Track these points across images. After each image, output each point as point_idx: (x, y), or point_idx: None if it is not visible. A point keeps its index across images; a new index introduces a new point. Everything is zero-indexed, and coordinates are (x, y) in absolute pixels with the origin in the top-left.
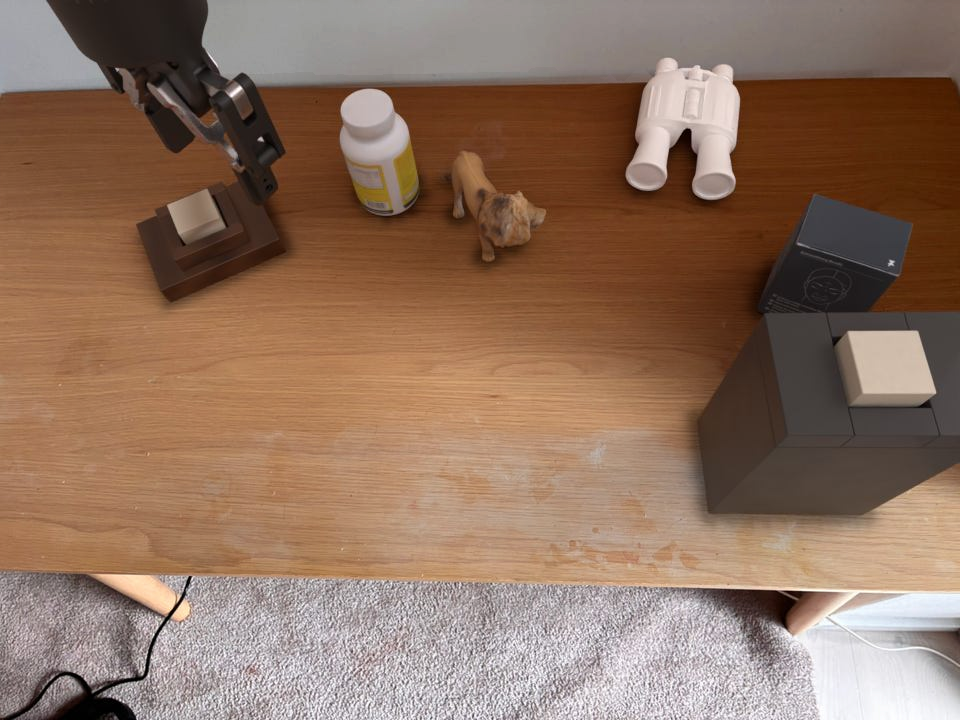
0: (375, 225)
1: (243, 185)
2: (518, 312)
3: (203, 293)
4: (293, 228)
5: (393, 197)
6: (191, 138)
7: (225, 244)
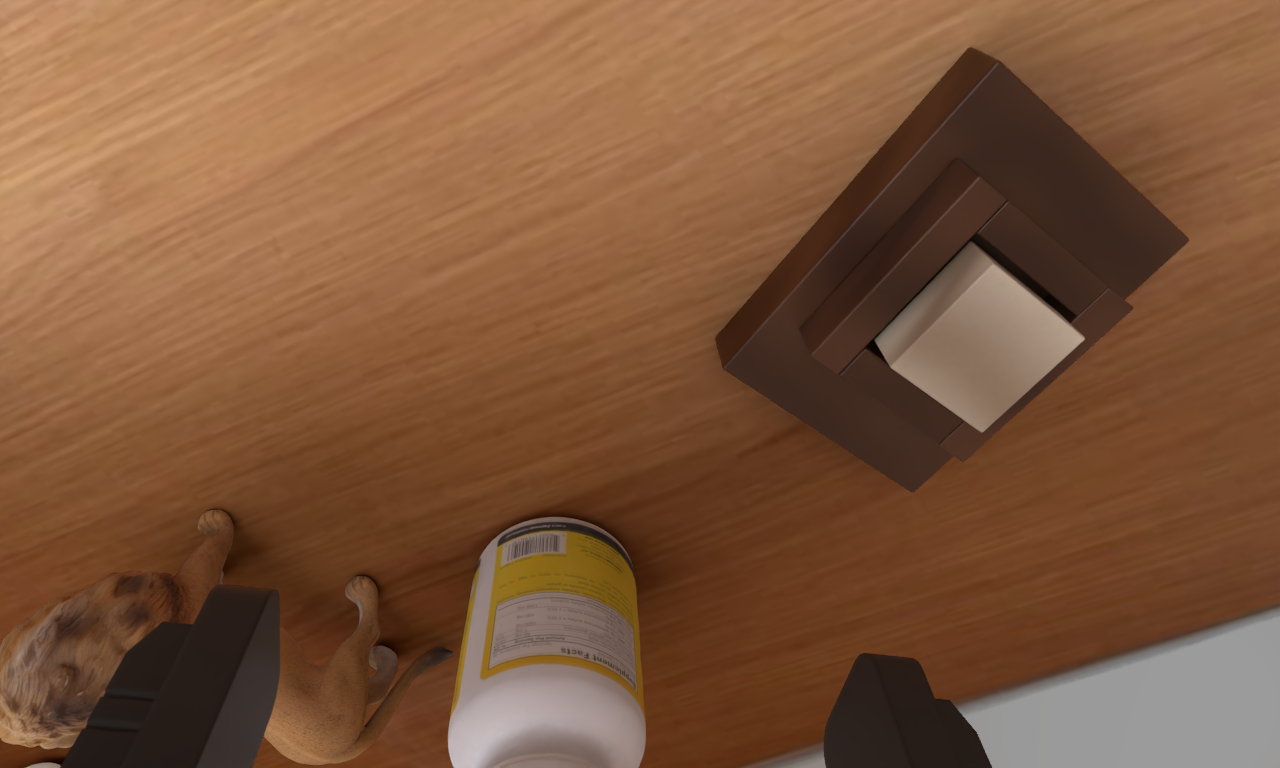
0: (534, 490)
1: (177, 714)
2: (38, 425)
3: (881, 121)
4: (735, 404)
5: (487, 583)
6: (831, 735)
7: (853, 292)
